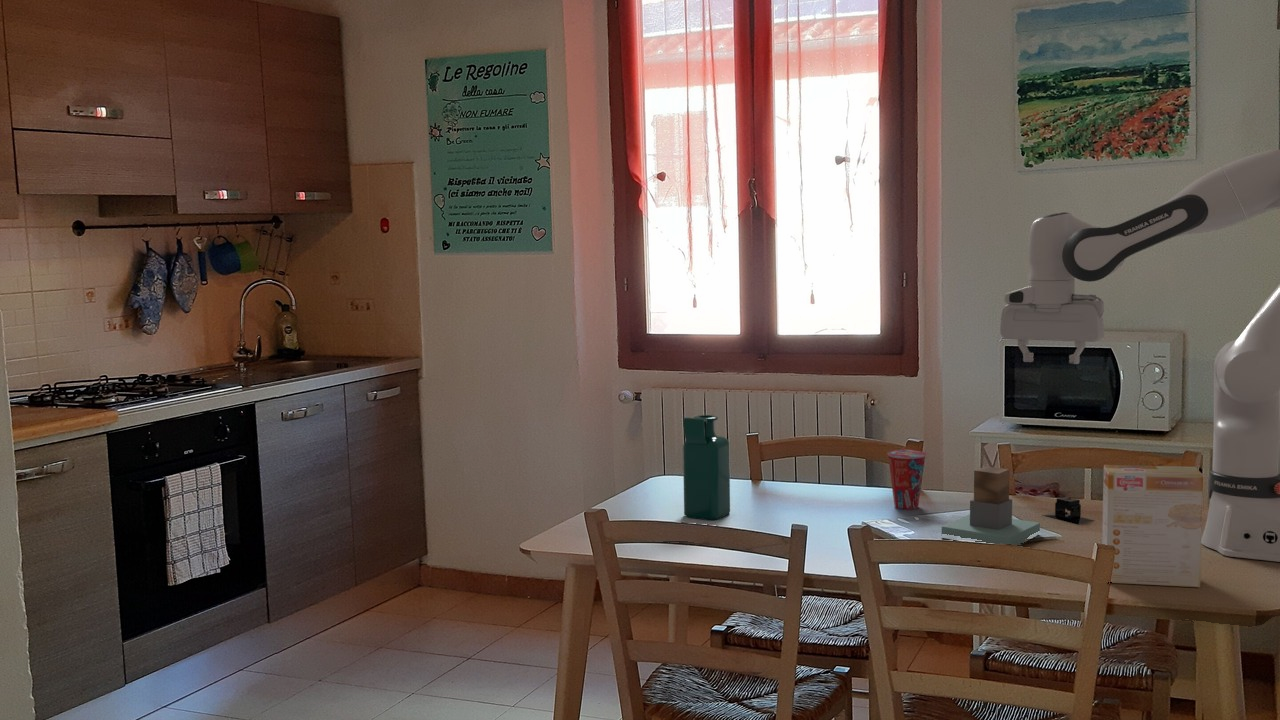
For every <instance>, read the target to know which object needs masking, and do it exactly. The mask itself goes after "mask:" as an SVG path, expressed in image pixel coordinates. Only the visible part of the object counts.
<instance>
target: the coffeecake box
mask: <svg viewBox="0 0 1280 720" xmlns="http://www.w3.org/2000/svg"><path fill="white" fill-rule="evenodd" d="M1102 476H1103V477H1102V478H1103V482H1102V483H1103V484H1102V487H1103V488H1102V489H1103V490H1102V530H1101V532H1102V533H1101V534H1102V537H1101V538H1102V540H1101V544H1105V545H1113V546H1115V560H1114V568H1113V576H1112V583H1111V584H1124V585H1125V584H1127V585H1128V584H1129V585H1142V586H1143V585H1144V586H1145V585H1146V586H1163V587H1164V586H1165V587H1166V586H1167V587H1184V588H1186V587H1187V588H1200V587H1201V573H1202V572H1201V571H1202V543H1201V538H1202V535H1203V531H1202V528H1203V493H1204V492H1203V491H1204V490H1203V487H1204V486H1203V485H1204V475H1203V473H1202V472H1201V471H1199V470H1198V468H1197V466H1180V465H1179V466H1176V465H1175V466H1173V465H1171V466H1170V465H1169V466H1167V465H1165V466H1164V465H1131V464H1130V465H1125V464H1122V465H1119V464H1104V465H1103V475H1102Z"/></svg>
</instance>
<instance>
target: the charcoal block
mask: <svg viewBox="0 0 1280 720" xmlns="http://www.w3.org/2000/svg"><path fill="white" fill-rule="evenodd" d="M969 515H970V526H977V527H983V528H989V529H995V530H1000V529H1002V528H1004V527H1006V526H1009V525H1011V524H1012V519H1013V498H1009V500H1006V501H1004V502H1002V503H999V504H994V503H987V502H980V501H974V498H973V499H971V500H970V501H969Z"/></svg>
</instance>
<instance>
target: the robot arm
mask: <svg viewBox="0 0 1280 720" xmlns="http://www.w3.org/2000/svg"><path fill="white" fill-rule="evenodd" d="M1274 210H1280V149H1278V148H1277V149H1276V148H1275V149H1270V150H1263V151H1261V152H1258V153H1257V152H1256V153H1253V154H1250V155H1247V156H1244V157H1241V158H1238V159H1237V160H1234V161H1230V162H1229V163H1227V164H1224V165H1222V166H1219V167H1217V168H1215V169H1214V170H1212V171H1209V172H1208V173H1206V174H1204V175H1202V176H1201V177H1199V178H1197V179H1196V180H1193V182H1191V183H1190V184H1188V185H1187V186H1185V187H1184V188H1182V189H1181V190H1180V191H1178V192H1177V193H1176V194H1175V195H1174V196H1172V197H1171V198H1170V199H1168V200H1167V201H1165V202H1163V203H1162V204H1160V205H1159V206H1157V207H1154V208H1153V209H1151V210H1148V211H1145V212H1144V213H1141V214H1138V215H1136V216H1135V217H1132V218H1129V219H1128V220H1124V221H1123V222H1121V223H1118V224H1115V225H1112V226H1109V227H1100V226H1096V225H1093V224H1090V223H1088V222H1085V221H1083V220H1081V219H1079V218H1078V217H1075V216H1074V215H1073V214H1072V213H1070V212H1058V213H1056V212H1055V213H1051V214H1045V215H1043V216H1039V217H1038V218H1036V219H1035V220H1034V221H1033V222H1032V224H1031V226H1030V230H1029V235H1028V244H1027V245H1028V248H1027V250H1028V252H1027V254H1028V255H1027V260H1028V263H1029V266H1030V267H1029V274H1028V278H1027V280H1028V281H1027V282H1028V283H1027V286H1025V287H1020V288H1019V289H1016V290H1013V291H1009V292H1007V293H1005V294H1004V303H1005V304H1006V305H1004V307H1003V308H1002V310H1001V315H1000V325H999V329H1000V330H999V332H1000V335H1001V337H1002V339H1004V340H1017V346H1018V348H1019V350H1020V351H1021V353H1022V356H1023V358H1022V361H1023V362H1024V363H1033V362H1034V356H1035V355H1034V352H1031V351H1030V350H1029V348H1028V346H1027V345H1029V341H1054V342H1055V341H1058V342H1059V341H1060V342H1061V341H1062V342H1074V347H1075V348H1076V349H1075V351H1074V352H1073V354H1069V355H1068V358H1069V360H1068V363H1069V364H1070V365H1079V364H1080V361H1081V360H1080V355H1081V354H1082V352H1083V351H1084V349H1085V347H1086V342H1088V343H1090V342H1091V343H1095V342H1097V343H1098V342H1099V341H1101V340H1103V338H1104V336H1105V328H1104V320H1103V315H1104V311H1105V310H1104V309H1105V308H1104V307H1105V305H1104V301H1103V300H1102V298H1100V297H1098V296H1097V295H1096V294H1075V290H1076V289H1075V278H1076V280H1080V281H1082V282H1087V283H1088V282H1097V281H1100V280H1103V279H1104V278H1106V277H1107V276H1109V275H1111V274H1113V273H1115V272H1116V271H1117V270H1119V268H1120V267H1121V266H1122V265H1123V264H1124V261H1125V260H1126V259H1128V258H1129V257H1131V256H1132V255H1135V254H1137V253H1140V252H1141V251H1144V250H1146V249H1149V248H1151V247H1153V246H1155V245H1158V244H1162V243H1163V242H1164V241H1168V240H1170V239H1173V238H1176V237H1179V236H1184V235H1191V234H1202V233H1209V232H1214V231H1219V230H1222V229H1226V228H1228V227H1229V228H1230V227H1232V226H1235V225H1237V224H1238V225H1239V224H1240V223H1243V222H1246V221H1247V220H1251V219H1252V218H1255V217H1257V216H1259V215H1262V214H1265V213H1266V212H1270V211H1274ZM1213 365H1214V366H1213V368H1214V369H1213V437H1212V438H1213V440H1212V441H1213V442H1212V443H1213V444H1212V469H1210V470H1209V476H1208V485H1207V486H1208V489H1207V490H1208V498H1209V507H1208V512H1207V518H1206V522H1205V526H1204V530H1203V531H1202V537H1201V545H1203V546H1204V547H1207V548H1209V549H1212V550H1215V551H1217V552H1219V553H1220V555H1223V556H1226V557H1230V558H1231V557H1232V558H1233V557H1234V558H1242V559H1249V560H1250V559H1251V560H1261V561H1269V562H1279V563H1280V473H1279V472H1280V471H1279V469H1280V468H1279V467H1280V283H1279V284H1278V285H1277V287H1276V288H1275V289H1274V290H1273V291H1272V292H1271V293H1270V294H1269V296H1268V297H1267V298H1266V299H1265V301H1264V302H1263V303H1262V304H1261V306H1260V308H1259V309H1258V310H1257V312H1256V314H1255V315H1254V316H1253V318H1252V319H1251V320H1250V322H1249V323H1248V324H1247V326H1246V327H1245V328H1244V329H1243V331H1242V332H1241V334H1240V335H1239V337H1237V338H1236V339H1233V340H1231V341H1229V342H1227V343H1226V344H1225V345H1223V347H1221V348H1220V350H1219V351H1218V352H1217V354H1216V356H1215V359H1214V364H1213Z"/></svg>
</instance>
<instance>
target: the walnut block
mask: <svg viewBox="0 0 1280 720" xmlns="http://www.w3.org/2000/svg"><path fill="white" fill-rule="evenodd" d="M973 499H974V501H980V502H987V503H994V504H999V503H1002V502H1004V501H1006V500H1009V499H1010V469H1009V468H1001V467H993V466H983V467H981V468H977V469H975V470H974V471H973Z"/></svg>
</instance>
